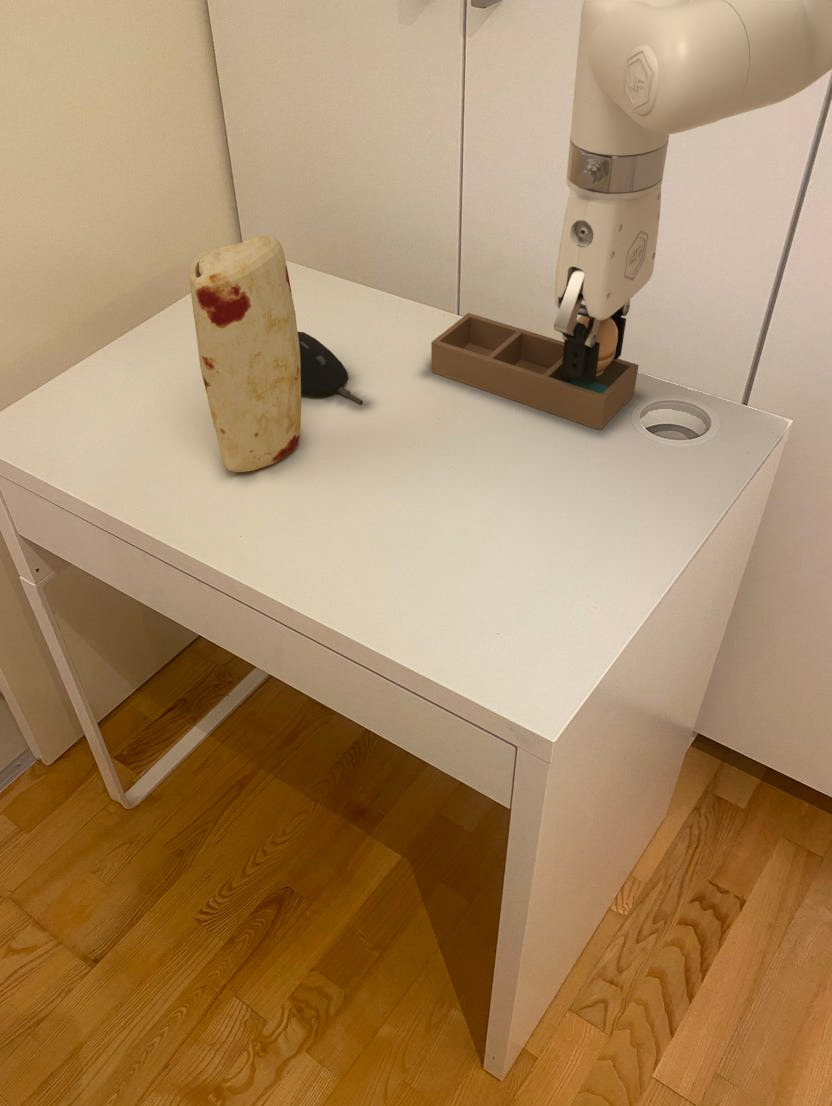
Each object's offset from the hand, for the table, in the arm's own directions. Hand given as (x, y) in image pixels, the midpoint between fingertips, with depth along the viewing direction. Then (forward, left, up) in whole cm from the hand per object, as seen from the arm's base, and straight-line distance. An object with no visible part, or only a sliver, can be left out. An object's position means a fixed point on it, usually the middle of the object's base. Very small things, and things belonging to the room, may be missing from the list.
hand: (591, 364), depth 92 cm
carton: (+6, -2, -4) cm, 7 cm away
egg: (0, 0, -1) cm, 1 cm away
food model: (+28, +14, -4) cm, 31 cm away
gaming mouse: (+28, +1, -4) cm, 28 cm away
